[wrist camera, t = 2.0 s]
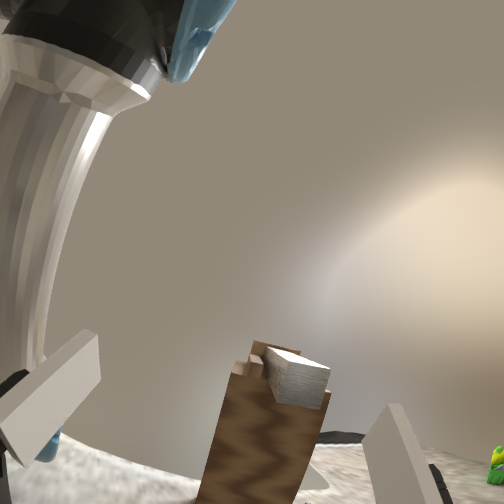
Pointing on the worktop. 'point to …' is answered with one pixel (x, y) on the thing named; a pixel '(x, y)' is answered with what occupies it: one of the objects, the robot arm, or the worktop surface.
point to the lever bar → (295, 378)
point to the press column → (259, 440)
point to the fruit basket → (497, 466)
